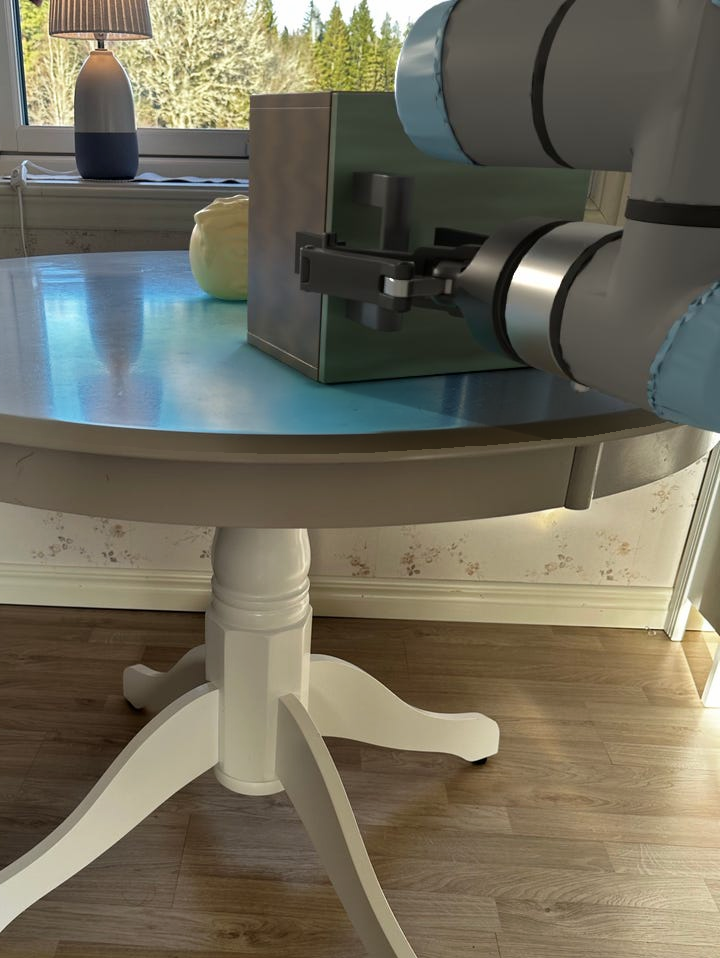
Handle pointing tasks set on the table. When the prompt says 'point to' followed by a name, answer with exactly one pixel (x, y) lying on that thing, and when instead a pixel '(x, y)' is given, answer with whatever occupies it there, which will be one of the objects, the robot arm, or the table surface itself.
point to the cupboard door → (416, 236)
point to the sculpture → (221, 248)
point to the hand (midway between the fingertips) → (370, 249)
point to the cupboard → (286, 220)
